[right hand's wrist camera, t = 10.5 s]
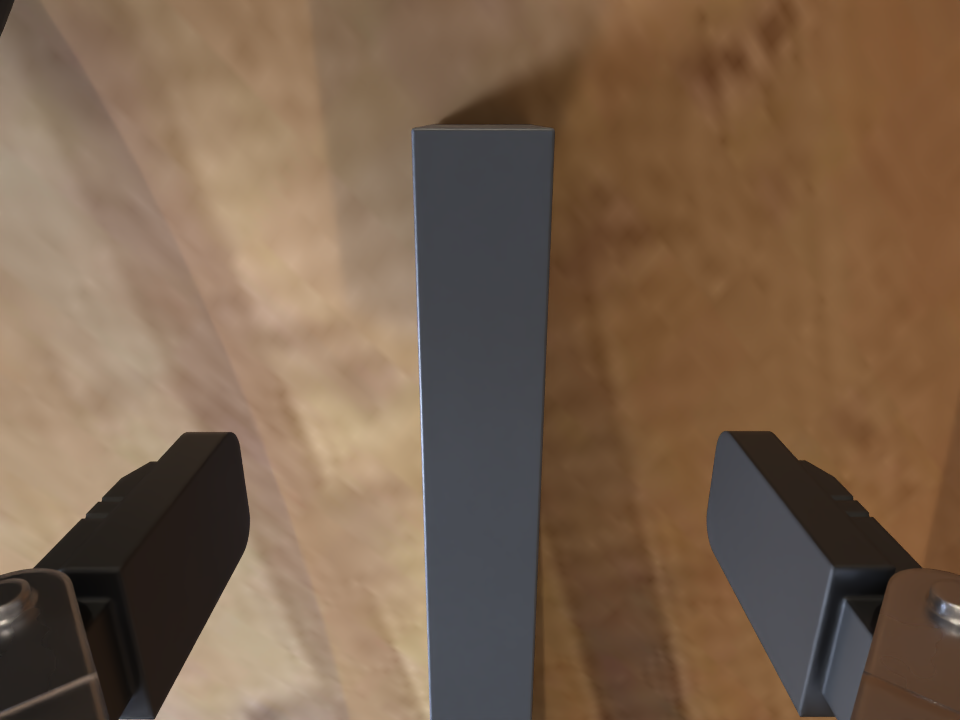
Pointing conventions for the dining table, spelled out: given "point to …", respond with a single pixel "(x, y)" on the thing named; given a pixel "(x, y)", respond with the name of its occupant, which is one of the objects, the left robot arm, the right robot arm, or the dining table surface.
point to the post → (482, 405)
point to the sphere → (4, 12)
